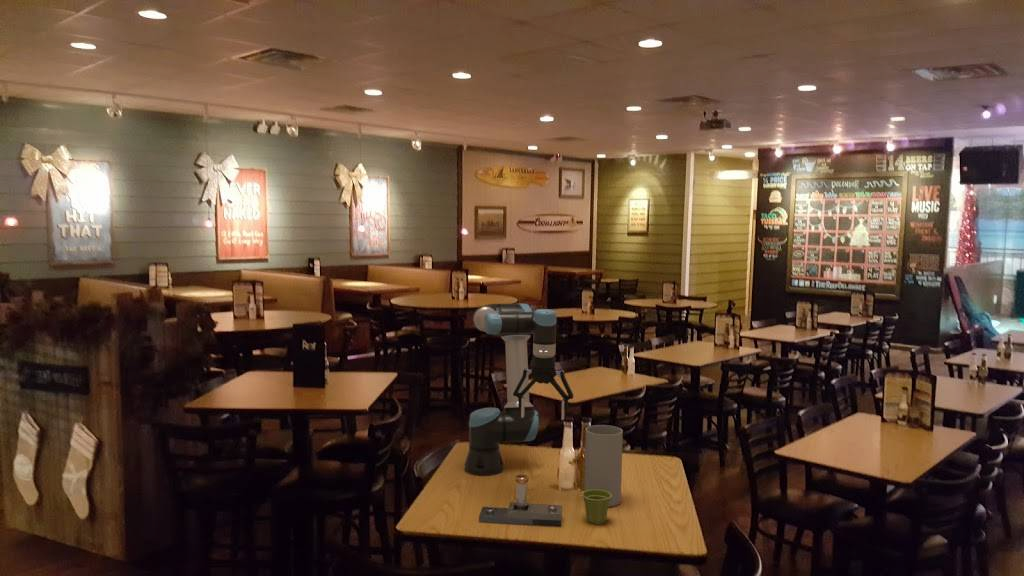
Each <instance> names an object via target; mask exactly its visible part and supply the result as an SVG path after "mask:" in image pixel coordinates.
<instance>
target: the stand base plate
mask: <svg viewBox="0 0 1024 576" xmlns="http://www.w3.org/2000/svg"><path fill="white" fill-rule="evenodd" d="M562 519H563V504H551V503H532V502H531V503H530V502H526V510H516V501H514V502H512V501H511V502H509V504H508V507H494V506H482V508H481V511H480V513H479V515H478V523H485V524H486V523H488V524H503V525H504V524H507V525H520V526H521V525H524V526H538V527H539V526H540V527H559V528H561V527H562V521H563V520H562Z"/></svg>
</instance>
